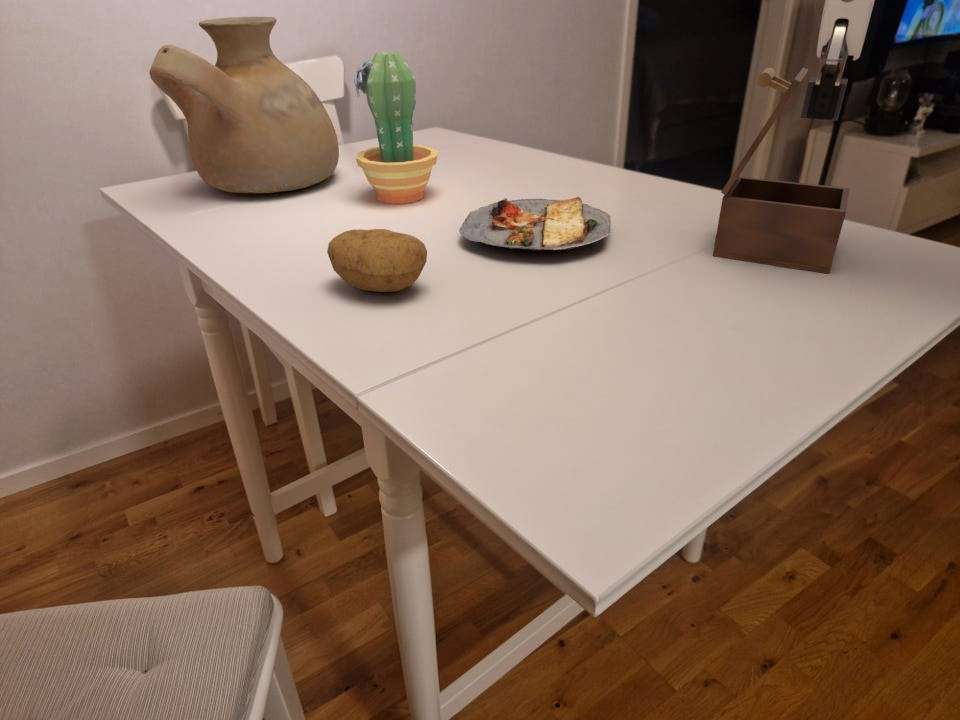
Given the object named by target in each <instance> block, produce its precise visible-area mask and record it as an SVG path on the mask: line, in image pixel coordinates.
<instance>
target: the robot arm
mask: <svg viewBox="0 0 960 720" xmlns="http://www.w3.org/2000/svg"><path fill="white" fill-rule="evenodd" d="M875 1H876V0H824V4H823V8H822V9H823V10H822V14H821V19H820V20H821V21H820V26H819V32H818V39H817V45H816V54H815V56H816V57H817V58H818V59H819V61H820V62H819V67H818V72H817V75H816V77H817V79H816V83H815V85H813V88H812V93H811V97H810V101H809V106H808V110H807V114H806V117H807V118H806V119H809V118H810V119H809V120H823V119H824V120H823V121H832V120H831V119H833V117H834V114H835V110H836V106H837V102H838V98H839V94H840V90H841V86H839V85H840V81H841V79H843V75H844V70H845V67H846V63H847V59H848V56H853V58H852V61H857V60H858V59H859V58H861V54H862V50H863V46H864V43H865V39H866V35H867V33H868V32H867V31H868V28H869V24H870V20H871V16H872V12H873V9H874V6H875ZM820 82H821V83H820ZM834 85H835V86H834Z"/></svg>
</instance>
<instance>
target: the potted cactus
mask: <svg viewBox="0 0 960 720" xmlns="http://www.w3.org/2000/svg"><path fill="white" fill-rule="evenodd" d="M355 72H356V73H355V74H354V77H353V78H354V79H353V83H354V86H355V91H356V96H357V97H360V91H361V92H362V93H363V95H366V102H367V105H368V109H369V110H370V113H371V115H372V117H373V120H374V125H375V131H376V135H377V141H378V146H374V147H370V148H368V149H365V150H362V151H359V152H358V153H357V154H356V156H355V162H356V164H357V166H358V167H359V168H361V169H362V171H363V173H364V176H365V177H366V181H367V182H368V183H369V184H370V186H371V187H372V188H373V189H374V190H375V192H376V193H377V198H376V199H377V200H378V201H380V202H381V203H385V204H391V205H395V204H397V205H399V204H401V205H403V204H404V205H405V204H410V203H415V202H418V201H420V200H423V199H424V197H425V192H424V190H425V187H426V186H427V184H428V183H429V181H430V178H431V174H432V170H433V168H434V167H433V166H435V165H437V161H438V155H439V150H437V149H436V148H434V147H431V146H428V145H418V144H414V132H413V131H414V130H413V129H414V128H413V116H414V114H415V113H414V112H415V108H416V104H417V90H416V89H417V87H416V86H417V84H416V83H417V80H416V77H415V75H414V72H413V71H412V68H411V67H410V66H409V65H408V63H407V62H406V60H405V59H404V58H403V56H402V55H401V53H400V52H398V51H394V52H392V53H391V52H390V53H389V52H388V51H383V53H378V52H375V54H374V55H373V57H372V59H371V60H370V59H366V60H364V61H363V62H361V63H360V65H359V66H358V67H357V70H356V71H355Z"/></svg>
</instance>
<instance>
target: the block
mask: <svg viewBox="0 0 960 720" xmlns="http://www.w3.org/2000/svg"><path fill="white" fill-rule="evenodd" d="M816 79H817V76H816V77H815V76H813V77H810V79H809V81H807V82H808V83H807V88H806V91H805V96H804V101H803V105H802V109H801V113H800V118H801V119H809V120H811V119H810V118H807V117H806V114H807V110H808V106H809V101H810V97H811V93H812V88H813V85H815V83H816ZM848 81H849V79H848V78H842V79H841V81H840V85H839V86H841V90H840V94H839V98H838V102H837V106H836V110H835V114H834V117H833V119H831V120H830V121H838V120H839V117H840V113H841V109H842V105H843V101H844V97H845V93H846V91H847V90H846V89H847V85H848ZM820 83H821V82H820ZM834 86H835V85H834ZM822 120H823V121H825V120H824V119H822Z"/></svg>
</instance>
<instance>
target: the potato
mask: <svg viewBox="0 0 960 720" xmlns="http://www.w3.org/2000/svg"><path fill="white" fill-rule="evenodd" d="M326 252H327V256H328V258H329V262H330V265H331V266H332V269H333V271H334V272H335V273H336V274H337V275H338V276H339V277H340V278H341V279H342V280H343V281H344V282H345V283H346V284H347V285H349V286H351V287H353V288H357V289H359V290H362V291H363V290H364V291H370V292H376V293H377V292H378V293H391V292H398V291H399V292H400V291H402V290H405V289H407V288H410V287H411V286H412V285H413V284H414V283H415V282H417V281H418V279H419V277H420V275H421V273H422V271H423V270H424V267H425V265H426V263H427V257H428V249H427V248H426V245H425V243H424V242H423V241H422V240H420V238H418V237H416V236H414V235H411V234H408V233H403V232H398V231H397V232H396V231H393V230H389V229H386V228H374V229H350V230H346V231H343V232H341V233H339V234H337V235H336V236H334V237H332V239H331V240H330V241H329V242H328V244H327V251H326Z"/></svg>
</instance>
